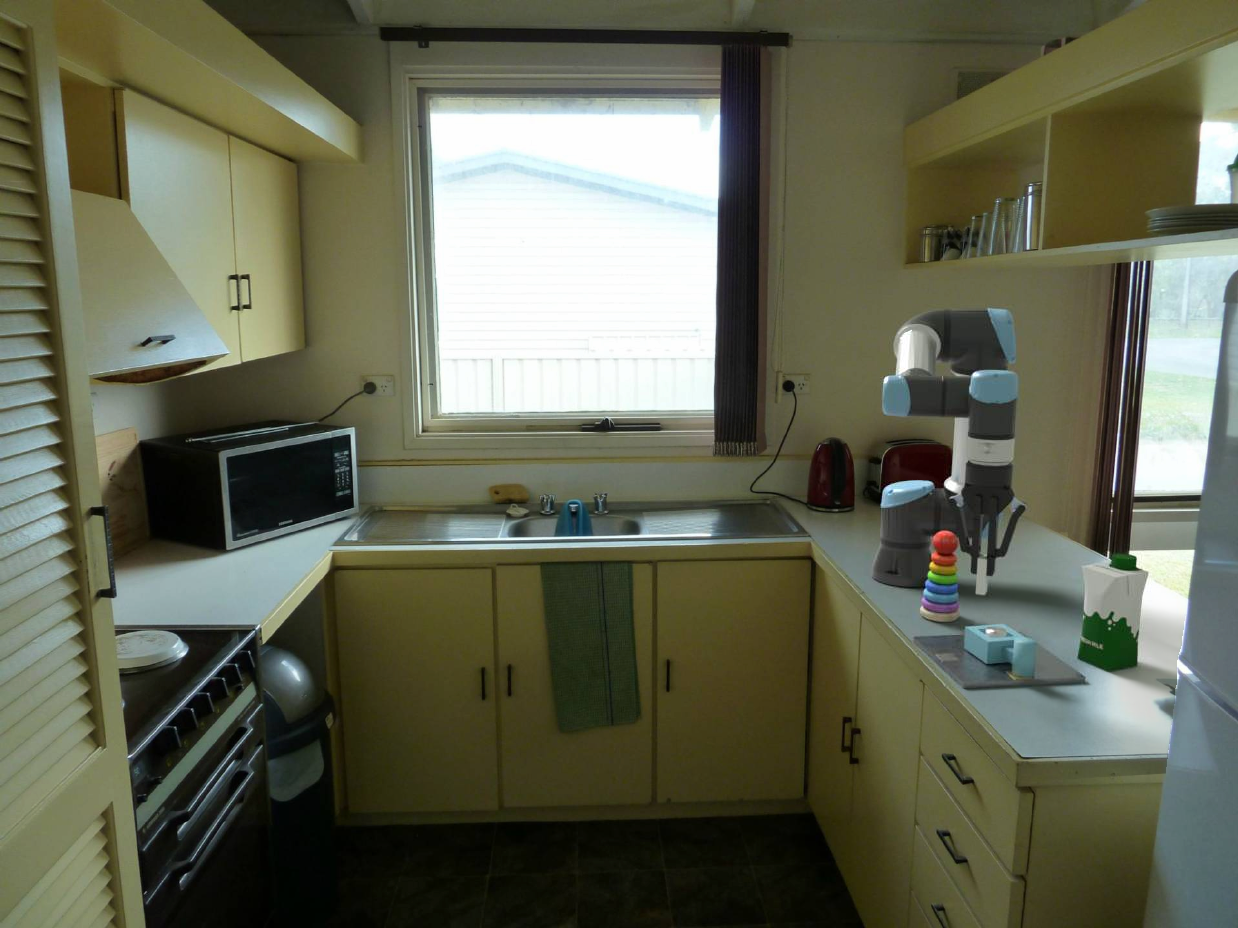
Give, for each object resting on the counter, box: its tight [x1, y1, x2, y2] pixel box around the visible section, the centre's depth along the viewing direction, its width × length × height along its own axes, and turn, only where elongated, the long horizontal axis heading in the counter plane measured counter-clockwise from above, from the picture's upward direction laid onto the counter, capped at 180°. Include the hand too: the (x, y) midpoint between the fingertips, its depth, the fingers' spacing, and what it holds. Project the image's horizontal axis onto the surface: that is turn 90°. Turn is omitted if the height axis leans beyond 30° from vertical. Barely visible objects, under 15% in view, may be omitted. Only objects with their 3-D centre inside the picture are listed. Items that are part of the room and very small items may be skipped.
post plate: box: [912, 627, 1086, 689], centre depth 170 cm, size 22×22×6 cm
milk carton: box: [1076, 552, 1150, 673], centre depth 167 cm, size 9×9×20 cm
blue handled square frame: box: [964, 623, 1037, 678], centre depth 166 cm, size 8×15×6 cm, turn 9°
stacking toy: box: [919, 531, 960, 623], centre depth 192 cm, size 8×8×19 cm
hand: (981, 592), depth 161 cm, fingers closed
